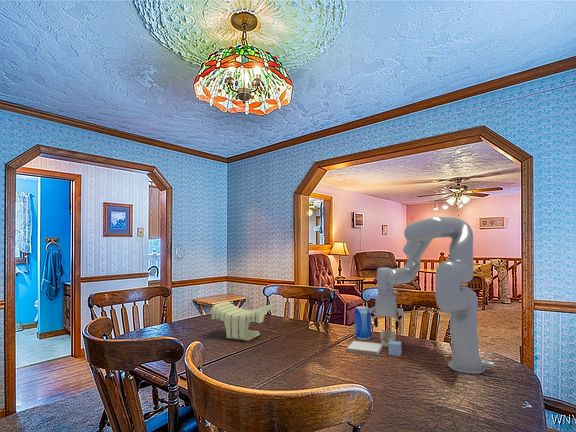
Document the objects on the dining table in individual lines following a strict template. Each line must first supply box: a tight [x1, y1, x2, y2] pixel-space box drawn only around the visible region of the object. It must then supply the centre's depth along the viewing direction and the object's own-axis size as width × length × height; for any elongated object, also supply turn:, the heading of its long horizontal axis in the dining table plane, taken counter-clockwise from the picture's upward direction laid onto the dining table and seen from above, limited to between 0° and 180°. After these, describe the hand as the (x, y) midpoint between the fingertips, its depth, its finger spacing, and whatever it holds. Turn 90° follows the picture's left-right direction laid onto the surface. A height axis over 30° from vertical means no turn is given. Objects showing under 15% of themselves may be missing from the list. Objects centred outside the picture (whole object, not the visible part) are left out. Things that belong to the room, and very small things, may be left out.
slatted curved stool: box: [211, 300, 274, 342], centre depth 183 cm, size 30×16×18 cm, turn 66°
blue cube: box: [387, 340, 403, 357], centre depth 149 cm, size 5×5×5 cm
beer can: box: [353, 305, 372, 341], centre depth 175 cm, size 8×8×16 cm
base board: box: [345, 340, 384, 357], centre depth 156 cm, size 14×14×2 cm
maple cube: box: [380, 330, 397, 348], centre depth 162 cm, size 6×6×6 cm
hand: (386, 327), depth 163 cm, fingers open, 9 cm apart
